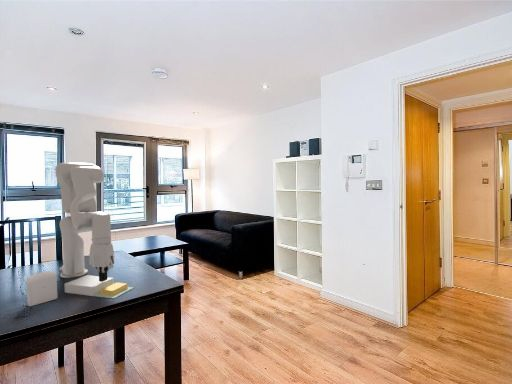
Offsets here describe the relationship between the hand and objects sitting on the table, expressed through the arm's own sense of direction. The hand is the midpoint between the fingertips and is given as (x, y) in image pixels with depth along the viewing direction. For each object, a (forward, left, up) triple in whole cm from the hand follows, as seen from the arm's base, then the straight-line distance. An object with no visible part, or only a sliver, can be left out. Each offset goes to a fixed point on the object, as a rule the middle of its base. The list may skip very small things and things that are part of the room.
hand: (103, 280), depth 130 cm
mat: (+6, 0, -5) cm, 8 cm away
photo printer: (-16, -16, -5) cm, 23 cm away
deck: (-8, 0, -5) cm, 9 cm away
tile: (+6, 0, -2) cm, 6 cm away
